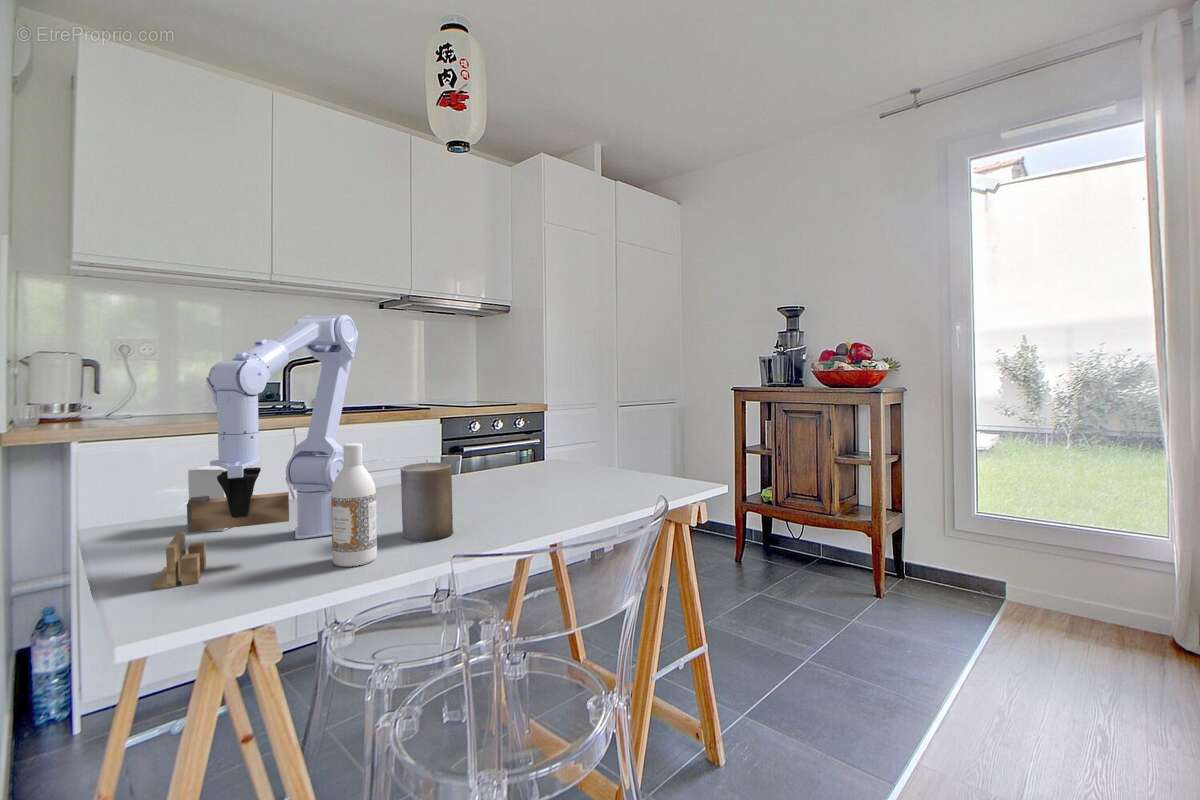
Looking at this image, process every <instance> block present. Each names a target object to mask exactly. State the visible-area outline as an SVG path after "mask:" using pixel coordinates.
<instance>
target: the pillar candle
mask: <svg viewBox="0 0 1200 800" xmlns="http://www.w3.org/2000/svg"><path fill="white" fill-rule="evenodd" d="M428 461H429V460H428V459H426V461H425V462H421V463H420V462H419V463H412V464H408V465H403V466H401V467H400V469H399V470H400V487H401V489H400V490H401V491H400V493H401V520H402V523H401V524H402V537H403V539H406V540H409V541H412V542H430V541H435V540H442V539H444V538H446V537H450V536H452V535H453V534H454V530H453V529H454V526H453V525H454V517H453V516H454V515H453V481H452V479H453V478H452V477H453V476H452V474H453V473H452V464H451V463H448V462H447V463H446V462H434V461H433V462H428Z"/></svg>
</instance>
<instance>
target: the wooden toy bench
mask: <svg viewBox="0 0 1200 800" xmlns="http://www.w3.org/2000/svg"><path fill="white" fill-rule="evenodd" d="M186 541H187V540H186V532H185V531H179V532H177V533H176V534H175V535H174V537H173V538H172V539H171V541H170V542H169V543H168V545H167V546H166V547H165V555H166V558H165V559H166V566H164V567H163V568H162V569H161V571H160V572H159V574H158V575H157V577H156V578H155V580H154V581H153V582H152V584H151V585H150V586H151V587H150V590H151V591H155V590H162V589H168V588H174V587H175V588H176V587H177V586H178V583H179V581H180V580H181V586H186V585H187V586H189V585H194V584H198V583H199V582H200V579H201V571H205V569H206V566H207V550H206V549H207V546H206V541H197V542H190V544H189V545H188V546H187V545H186V544H187V543H186ZM186 546H187V547H188V548H186ZM187 549H188V551H187ZM187 552H188V553H187Z"/></svg>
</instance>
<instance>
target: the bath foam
mask: <svg viewBox="0 0 1200 800" xmlns="http://www.w3.org/2000/svg"><path fill="white" fill-rule="evenodd" d="M342 448H343V455H344V467H343V468H342V470H341V471H340V473H339V474H338V476H337V477H336V479H335V481H334V483H333V487H332V492H331V513H332V535H331V543H332V544H331V545H332V546H331V547H332V548H331V550H332V562H333V564H334V565H336V566H338V567H343V568H344V567H346V568H353V567H359V565H360V566H363V565H367V564H369V563H372V562H374V561H375V560H376V559H377V557H378V536H377V535H378V534H377V533H378V532H377V531H378V529H377V525H378V524H377V522H378V521H377V520H378V519H377V492H376V491H377V490H376V485H375V482H374V479H373V478H372V476H371V474H370V473H369V471H368V470H367V469H366V467H365V466H364V465H363V444H362V443H359V442H358V443H356V442H353V443H345V444H343V447H342ZM352 566H353V567H352Z"/></svg>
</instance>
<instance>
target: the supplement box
mask: <svg viewBox="0 0 1200 800" xmlns="http://www.w3.org/2000/svg"><path fill="white" fill-rule="evenodd" d="M223 471H227V469H224V468H222V467H219V466H210V464H209V465H206V466H205V465H204V466H201V467H196V468H192V469H188V471H187V475H188V476H187V477H188V479H187V480H188V501H189V500H190V498H191V497H201V496H209V499H213V498H225V497H226V495H225V492H224V490H223V488H222V487H221V485H220V484H219V482H218V480H217V476H218V475H221V473H222V472H223ZM228 529H229V528H224V529H215V530H206V531H205V532H224V531H226V530H228Z"/></svg>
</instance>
